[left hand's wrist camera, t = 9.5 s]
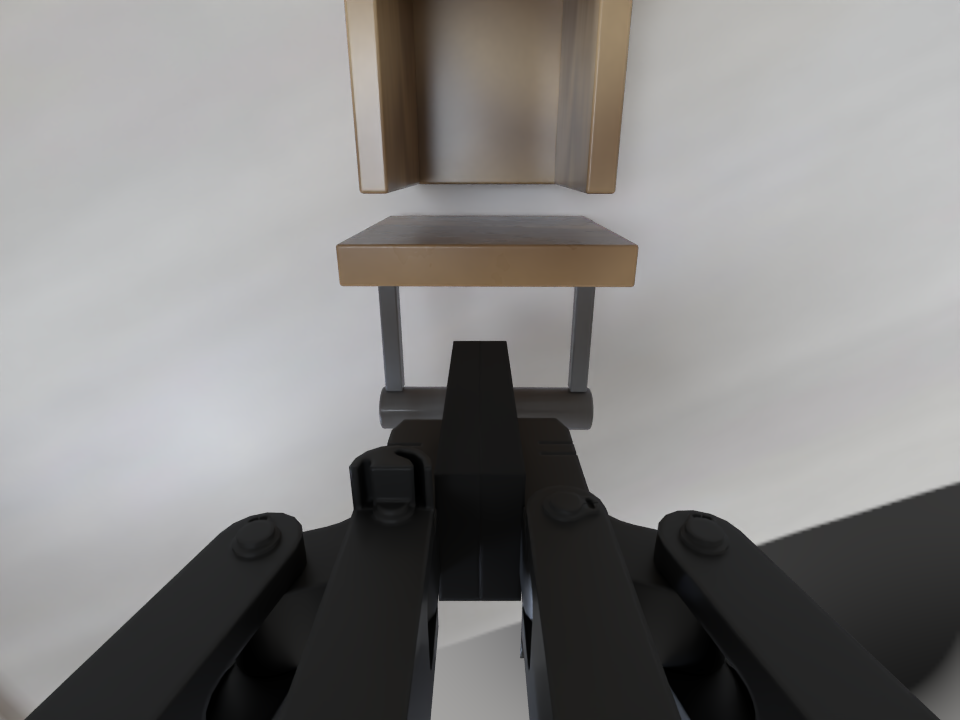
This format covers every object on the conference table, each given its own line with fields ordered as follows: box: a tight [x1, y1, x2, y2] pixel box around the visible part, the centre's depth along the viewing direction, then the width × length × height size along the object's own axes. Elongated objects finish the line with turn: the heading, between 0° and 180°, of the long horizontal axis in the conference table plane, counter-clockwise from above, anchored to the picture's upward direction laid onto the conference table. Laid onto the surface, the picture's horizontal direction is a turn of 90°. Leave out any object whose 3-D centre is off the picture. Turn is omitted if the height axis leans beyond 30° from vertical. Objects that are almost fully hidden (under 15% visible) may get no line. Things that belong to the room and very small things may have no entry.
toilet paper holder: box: [336, 0, 638, 430], centre depth 17 cm, size 21×8×8 cm, turn 0°
